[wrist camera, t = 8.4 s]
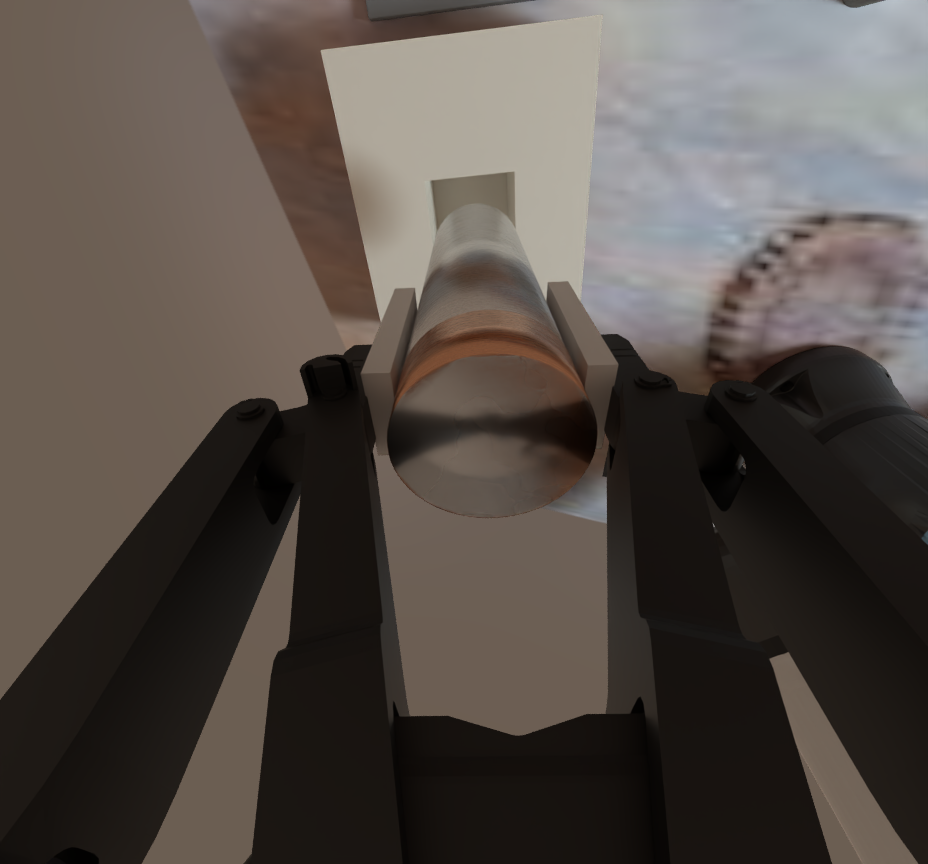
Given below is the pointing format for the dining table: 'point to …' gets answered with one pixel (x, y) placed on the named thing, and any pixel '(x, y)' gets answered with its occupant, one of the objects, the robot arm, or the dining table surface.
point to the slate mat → (424, 7)
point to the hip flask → (859, 2)
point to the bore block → (469, 142)
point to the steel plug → (487, 381)
